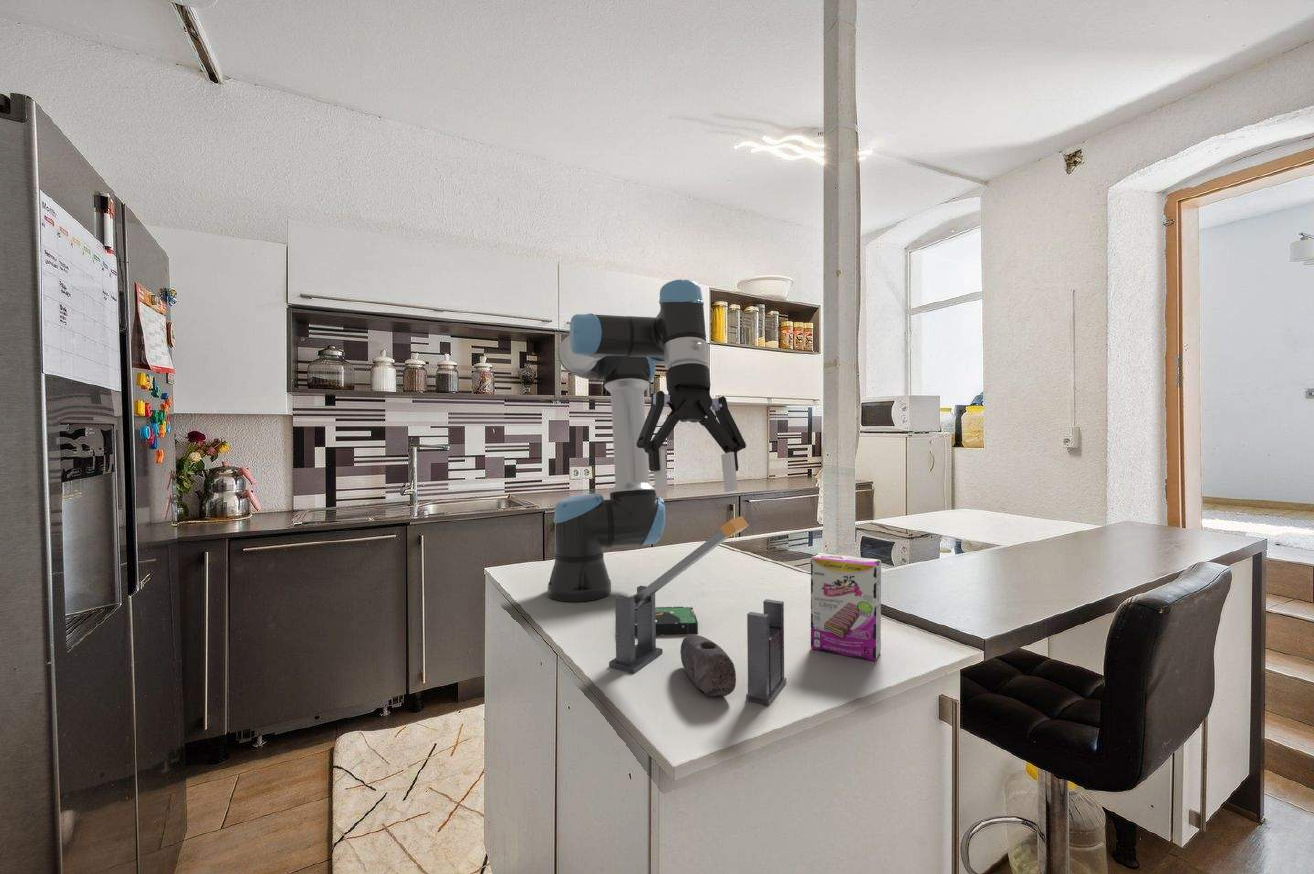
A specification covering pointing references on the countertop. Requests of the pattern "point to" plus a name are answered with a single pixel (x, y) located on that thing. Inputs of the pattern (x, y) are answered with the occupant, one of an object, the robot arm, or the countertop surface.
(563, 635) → the countertop surface
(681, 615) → the disk drive
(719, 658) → the perforated stone tool
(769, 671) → the catch block
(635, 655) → the bracket
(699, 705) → the countertop surface
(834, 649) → the candy bar box
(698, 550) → the grey long bar
